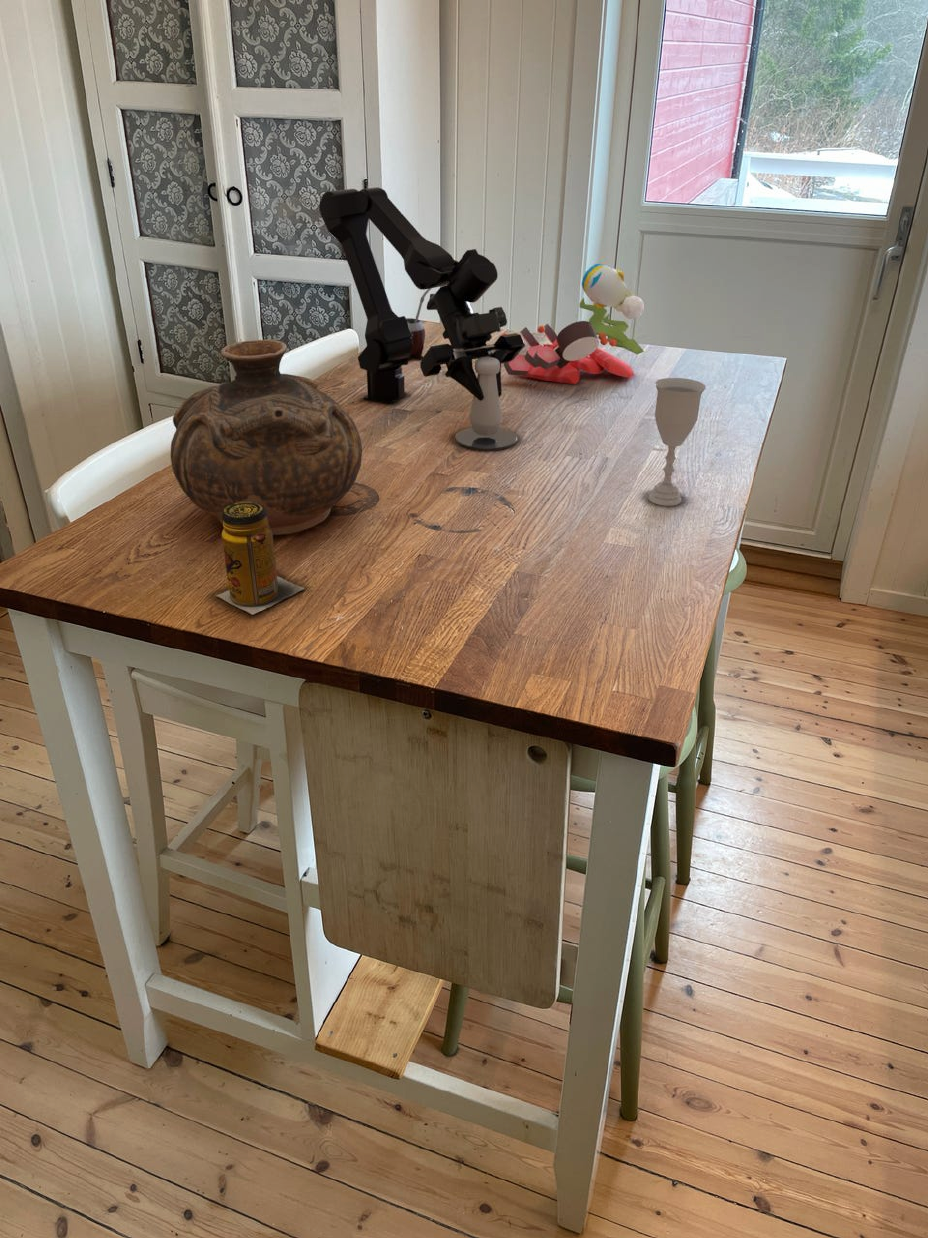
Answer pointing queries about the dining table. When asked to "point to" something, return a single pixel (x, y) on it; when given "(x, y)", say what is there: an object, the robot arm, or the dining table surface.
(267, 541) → the condiment
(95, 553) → the dining table surface
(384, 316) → the robot arm
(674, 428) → the chalice
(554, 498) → the dining table surface
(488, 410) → the salt shaker
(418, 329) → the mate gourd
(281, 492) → the vessel
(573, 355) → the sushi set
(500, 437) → the coaster
